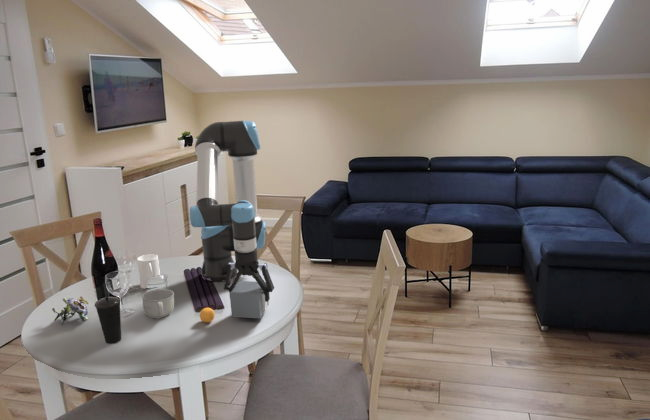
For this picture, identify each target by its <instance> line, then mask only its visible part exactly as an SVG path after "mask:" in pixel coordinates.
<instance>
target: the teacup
mask: <svg viewBox="0 0 650 420" xmlns="http://www.w3.org/2000/svg"><path fill="white" fill-rule="evenodd" d="M141 298H142V306H143V311H144V313H145V314H146V315H147V316H149V317H150V318H153V319H162V318H165V317H167V316H169V315H170V314H171V313H172V312H173V310H174V307H175V292H174V291H173V290H171V289H167V288H166V289H165V288H163V289H162V288H161V289H160V288H157V289H153V290H148V291H146V292H145V293H143V294H142V296H141Z"/></svg>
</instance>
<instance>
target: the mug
mask: <svg viewBox="0 0 650 420" xmlns="http://www.w3.org/2000/svg"><path fill="white" fill-rule="evenodd" d="M136 260H137V261H136V262H137V268H138V274H139V275H138V276H139V283H140V284H139V287H140V288H141V289H144V290H145V289H146V288H147V282H148V280H149V279H150V277H153V276H154V275H160V276H161V270H160V262H159V255H158V254H153V253H152V254H151V253H149V254H143V255H141V256H138V257H137V259H136Z"/></svg>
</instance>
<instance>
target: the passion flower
mask: <svg viewBox="0 0 650 420" xmlns="http://www.w3.org/2000/svg"><path fill="white" fill-rule="evenodd" d="M62 301H63V302H64V303H65V304H66V305H65V306H64V307H63V309H61V310H60V312H57V311H56V310H55V309H56V308H54V307H53V308H51V310H52V311H53V313H56V317H55V318H54V320H53V322H54V323H55V322H56V321H57V320H58V319H59V318H61V321H60V322H61V325H62V326H63V323H64V322H65V321H66V320H67V317H68V316H69V315H70V316H71V317H72V316H75V315H76V313H77V315H78V316H79V318H80V320H81V321H83V322H86V321H88V320H89V318H88V316H87V315H88V314H89V312H88V306H86V305H89V302H88V301H87V300H85V298H83V297H82V296H79V297H78V299H76V298H74V297H71V298H68V299H67V297H64V298H62ZM84 304H85V305H84ZM61 325H60V326H61Z"/></svg>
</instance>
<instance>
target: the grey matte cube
mask: <svg viewBox="0 0 650 420" xmlns="http://www.w3.org/2000/svg"><path fill="white" fill-rule="evenodd" d="M264 282H265V281H264ZM265 283H266V282H265ZM266 285H267V284H266ZM262 293H263V290H262V289H261V287H260V286H259V284H258V283H257V281H251V280H250V281H249V280H238V282H237V284H236V286H235V287H234V289H233V290H232V291H231V292H230V294H229V300H230V301H229V302H230V312H231V313H230V314H231V317H234V318H246V319H248V318H249V319H261V318H262V316H263V315H264V313H265V312H266V311H263V299H262ZM269 302H270V300H269V301H268V302H267V306H268V307H269V305H270V304H269Z"/></svg>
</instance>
